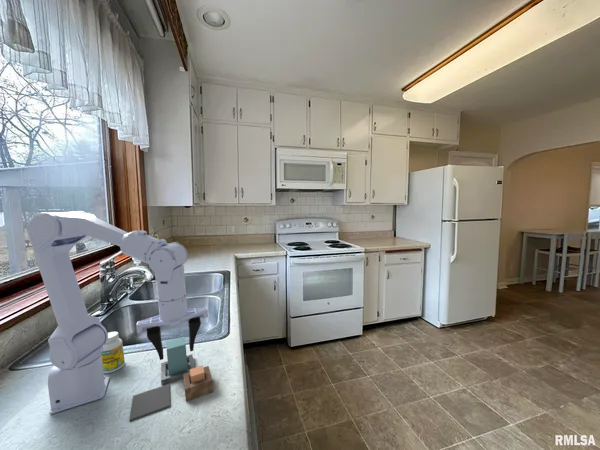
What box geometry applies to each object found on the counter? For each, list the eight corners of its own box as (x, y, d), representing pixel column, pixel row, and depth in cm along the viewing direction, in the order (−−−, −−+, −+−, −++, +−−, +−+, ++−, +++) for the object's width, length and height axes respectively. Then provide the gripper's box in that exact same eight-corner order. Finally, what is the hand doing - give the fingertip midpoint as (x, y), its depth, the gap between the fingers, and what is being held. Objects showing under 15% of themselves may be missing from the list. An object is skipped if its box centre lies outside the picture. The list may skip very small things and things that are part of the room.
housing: (185, 401, 58) (184, 389, 58) (184, 385, 63) (183, 373, 63) (213, 391, 61) (212, 379, 60) (209, 376, 66) (208, 365, 66)
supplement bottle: (125, 359, 75) (121, 328, 74) (124, 368, 70) (121, 336, 69) (102, 366, 72) (98, 333, 71) (100, 376, 67) (96, 342, 66)
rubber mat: (129, 421, 53) (129, 419, 53) (133, 397, 60) (133, 395, 60) (170, 406, 57) (170, 405, 57) (169, 385, 63) (169, 383, 63)
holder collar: (161, 385, 64) (160, 380, 63) (161, 367, 71) (161, 363, 70) (195, 373, 67) (195, 369, 67) (192, 358, 74) (192, 354, 74)
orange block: (192, 392, 60) (190, 376, 60) (190, 384, 63) (189, 369, 62) (205, 387, 61) (204, 372, 61) (203, 380, 64) (202, 365, 64)
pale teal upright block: (169, 378, 66) (166, 349, 65) (168, 368, 70) (166, 341, 69) (187, 372, 68) (185, 344, 67) (186, 363, 72) (184, 336, 71)
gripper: (132, 310, 51) (138, 373, 52) (208, 295, 58) (212, 352, 59) (136, 299, 57) (141, 356, 58) (204, 287, 64) (207, 338, 65)
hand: (176, 353), depth 59 cm, fingers open, 6 cm apart
